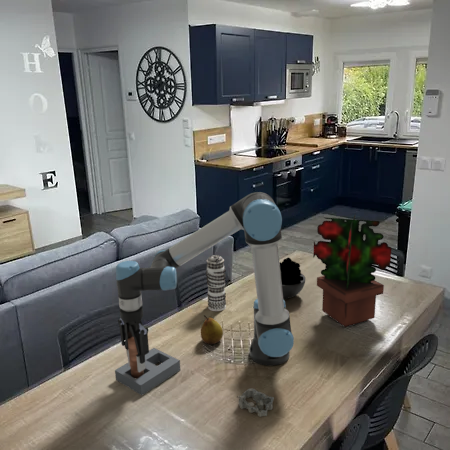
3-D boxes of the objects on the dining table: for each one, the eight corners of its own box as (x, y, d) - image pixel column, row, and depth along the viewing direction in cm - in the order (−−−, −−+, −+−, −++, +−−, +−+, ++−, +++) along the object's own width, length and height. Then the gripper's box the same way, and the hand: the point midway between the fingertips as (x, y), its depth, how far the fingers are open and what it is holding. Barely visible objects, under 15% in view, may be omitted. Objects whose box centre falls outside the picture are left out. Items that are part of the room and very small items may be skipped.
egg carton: (235, 407, 146) (234, 396, 145) (248, 394, 152) (248, 384, 151) (263, 420, 140) (262, 409, 139) (276, 407, 145) (275, 396, 144)
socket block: (180, 370, 166) (179, 360, 165) (141, 395, 152) (140, 385, 151) (154, 356, 174) (153, 347, 173) (115, 379, 161) (114, 370, 160)
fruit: (226, 337, 186) (225, 311, 183) (216, 348, 179) (215, 321, 175) (207, 333, 190) (206, 307, 187) (197, 344, 182) (195, 317, 179)
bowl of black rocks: (311, 293, 224) (312, 257, 219) (294, 309, 208) (295, 271, 203) (274, 284, 235) (275, 250, 229) (256, 300, 219) (255, 263, 213)
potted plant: (343, 335, 185) (348, 230, 172) (311, 313, 204) (314, 216, 192) (385, 323, 193) (393, 222, 181) (351, 302, 213) (356, 209, 200)
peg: (146, 373, 159) (143, 338, 155) (136, 379, 156) (133, 344, 152) (138, 369, 162) (135, 334, 158) (128, 375, 159) (125, 339, 155)
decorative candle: (229, 303, 216) (228, 254, 208) (223, 312, 207) (221, 261, 200) (211, 301, 219) (209, 252, 211) (204, 310, 210) (202, 259, 203)
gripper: (105, 303, 154) (112, 363, 161) (139, 318, 144) (145, 382, 150) (123, 296, 160) (129, 354, 167) (156, 309, 149) (161, 371, 156)
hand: (136, 367), depth 158 cm, fingers closed on peg, 4 cm apart
